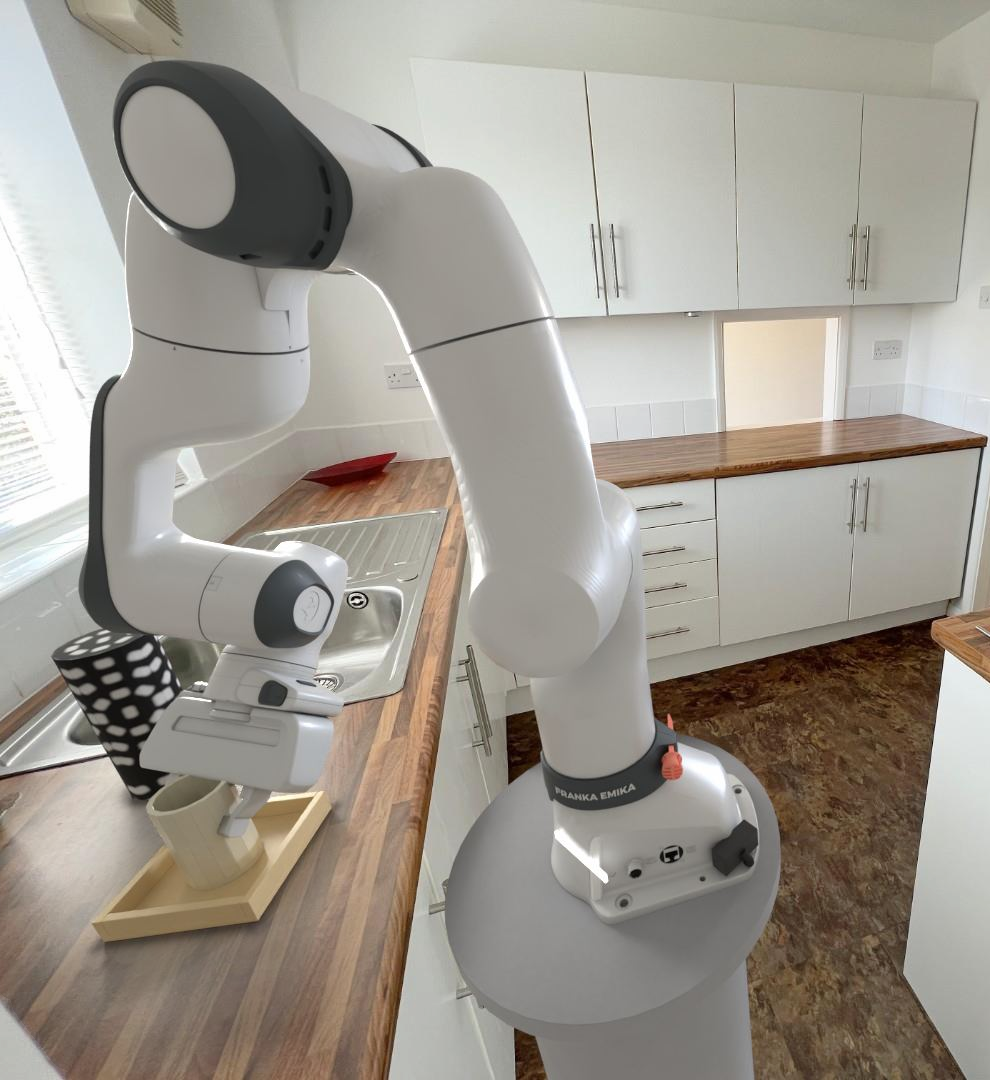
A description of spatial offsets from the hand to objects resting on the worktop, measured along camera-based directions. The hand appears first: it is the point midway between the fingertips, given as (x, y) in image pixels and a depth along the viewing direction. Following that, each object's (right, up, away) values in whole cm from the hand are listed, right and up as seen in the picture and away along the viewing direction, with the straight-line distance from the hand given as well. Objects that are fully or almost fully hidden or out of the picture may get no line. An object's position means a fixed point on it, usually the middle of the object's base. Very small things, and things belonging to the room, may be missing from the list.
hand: (200, 830), depth 58 cm
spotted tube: (-18, -1, +16) cm, 24 cm away
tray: (+1, -5, +3) cm, 6 cm away
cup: (0, -5, +3) cm, 5 cm away
